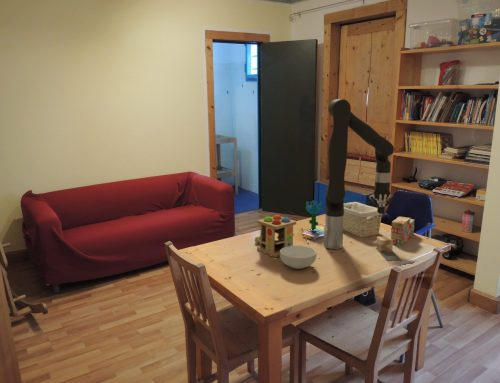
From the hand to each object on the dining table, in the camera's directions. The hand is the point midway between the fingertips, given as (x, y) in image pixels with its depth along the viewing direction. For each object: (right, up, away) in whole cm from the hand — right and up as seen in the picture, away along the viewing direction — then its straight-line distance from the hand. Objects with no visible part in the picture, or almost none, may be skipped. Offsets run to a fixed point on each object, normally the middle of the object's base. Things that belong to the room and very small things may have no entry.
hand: (380, 213), depth 216 cm
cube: (0, -18, -5) cm, 19 cm away
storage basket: (-5, -12, +27) cm, 30 cm away
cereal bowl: (-46, -23, -24) cm, 56 cm away
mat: (0, -20, -11) cm, 22 cm away
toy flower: (-31, -13, +25) cm, 42 cm away
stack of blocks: (+16, -15, +12) cm, 25 cm away
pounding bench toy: (-57, -18, -1) cm, 60 cm away
